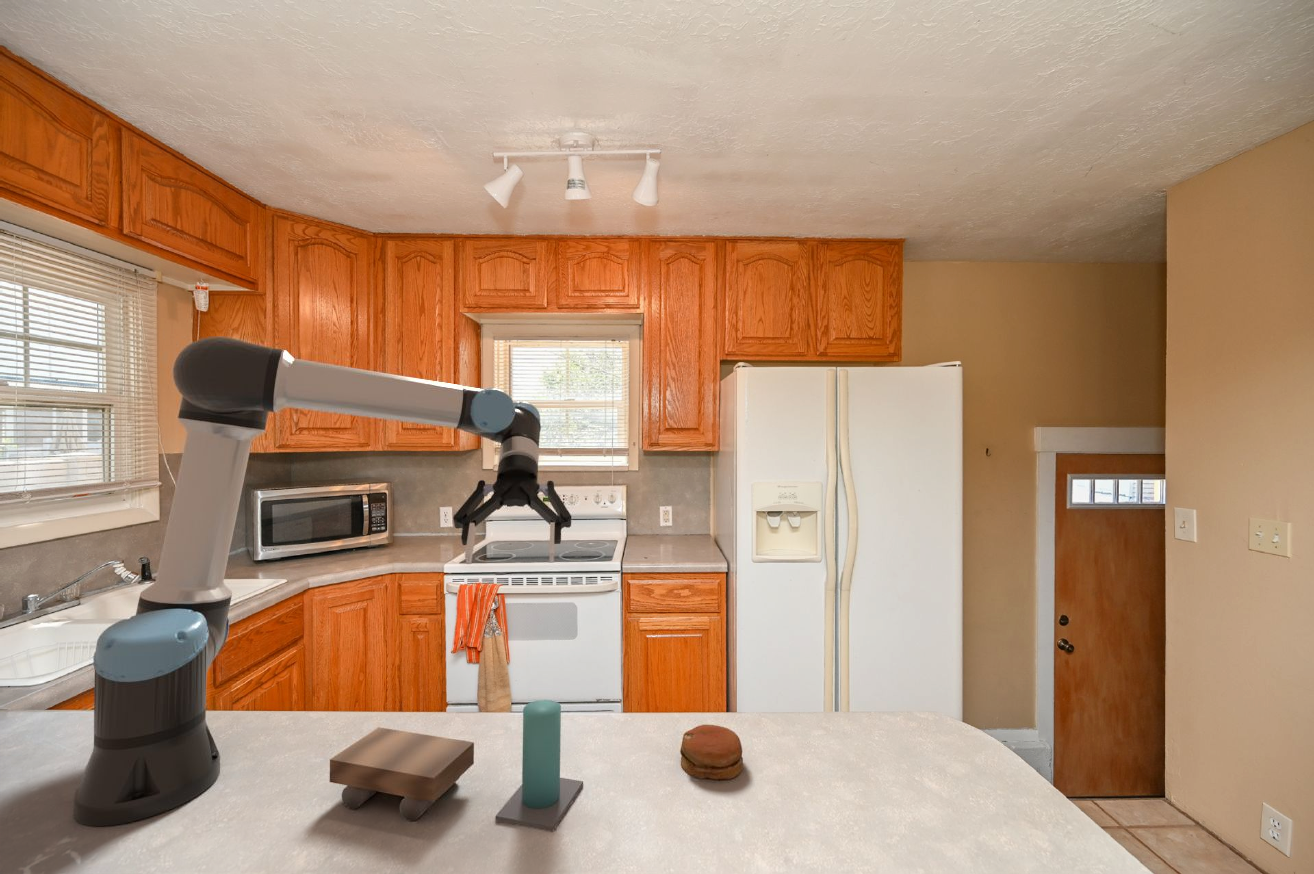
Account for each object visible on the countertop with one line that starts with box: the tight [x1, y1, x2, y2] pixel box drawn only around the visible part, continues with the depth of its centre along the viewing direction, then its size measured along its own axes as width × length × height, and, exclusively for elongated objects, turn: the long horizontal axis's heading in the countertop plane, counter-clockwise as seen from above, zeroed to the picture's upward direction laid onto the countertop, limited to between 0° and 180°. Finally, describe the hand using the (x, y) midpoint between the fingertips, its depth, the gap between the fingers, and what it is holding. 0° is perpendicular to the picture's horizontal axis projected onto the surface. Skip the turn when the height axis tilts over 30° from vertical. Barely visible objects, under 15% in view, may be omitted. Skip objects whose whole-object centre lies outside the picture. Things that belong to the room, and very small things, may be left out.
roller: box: [521, 699, 562, 809], centre depth 77 cm, size 5×5×12 cm
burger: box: [679, 724, 744, 781], centre depth 87 cm, size 10×9×5 cm
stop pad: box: [494, 777, 584, 833], centre depth 77 cm, size 8×10×1 cm
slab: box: [329, 726, 475, 822], centre depth 79 cm, size 16×9×6 cm, turn 75°
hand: (510, 559), depth 96 cm, fingers open, 13 cm apart
